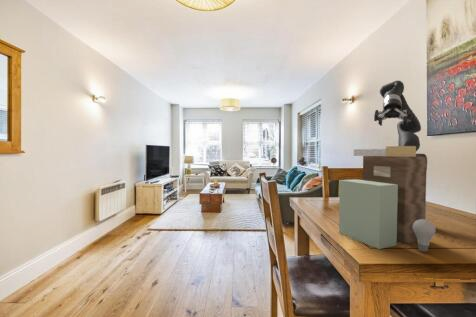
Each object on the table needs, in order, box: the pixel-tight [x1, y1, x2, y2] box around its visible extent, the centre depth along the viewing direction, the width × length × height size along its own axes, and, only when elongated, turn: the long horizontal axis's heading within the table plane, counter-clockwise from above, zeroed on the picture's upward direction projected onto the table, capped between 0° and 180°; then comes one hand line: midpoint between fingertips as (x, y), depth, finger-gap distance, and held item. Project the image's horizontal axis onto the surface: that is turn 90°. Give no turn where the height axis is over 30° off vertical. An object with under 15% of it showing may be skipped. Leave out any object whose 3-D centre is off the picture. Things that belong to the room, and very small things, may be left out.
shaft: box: [353, 145, 417, 157], centre depth 102 cm, size 6×25×4 cm, turn 22°
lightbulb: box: [412, 219, 436, 253], centre depth 80 cm, size 6×6×11 cm
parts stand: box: [362, 156, 428, 245], centre depth 97 cm, size 12×18×32 cm
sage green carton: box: [338, 178, 398, 250], centre depth 92 cm, size 9×18×22 cm, turn 22°
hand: (392, 123), depth 104 cm, fingers open, 8 cm apart
